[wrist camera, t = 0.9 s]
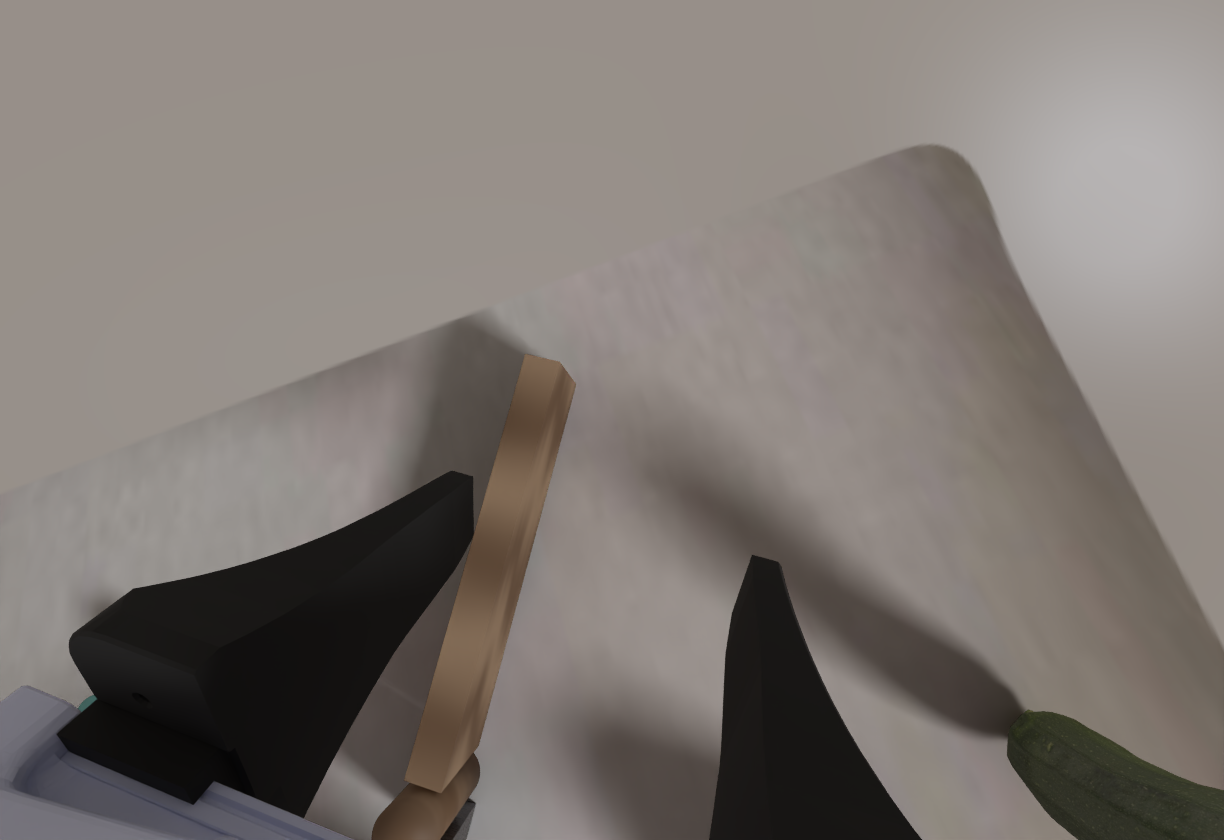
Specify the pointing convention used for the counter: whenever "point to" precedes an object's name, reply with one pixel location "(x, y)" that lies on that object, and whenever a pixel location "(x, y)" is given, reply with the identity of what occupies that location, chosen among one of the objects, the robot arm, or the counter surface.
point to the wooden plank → (483, 609)
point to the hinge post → (460, 823)
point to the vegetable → (1107, 785)
